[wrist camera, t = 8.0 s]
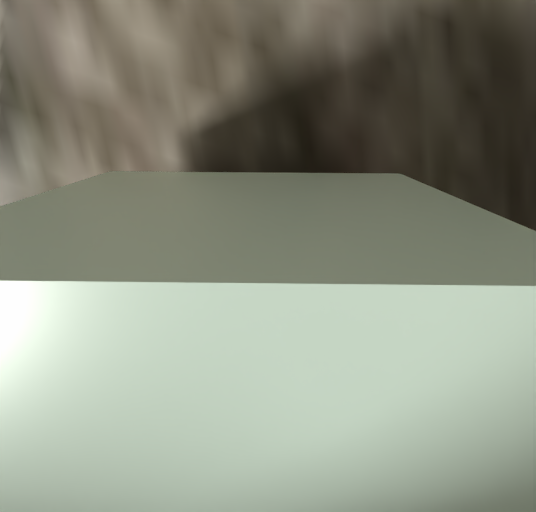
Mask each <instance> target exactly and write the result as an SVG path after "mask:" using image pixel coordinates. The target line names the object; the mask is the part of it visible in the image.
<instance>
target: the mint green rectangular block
mask: <svg viewBox="0 0 536 512" xmlns="http://www.w3.org/2000/svg"><path fill="white" fill-rule="evenodd" d="M0 512H536V231H534V230H532V229H529V228H527V227H525V226H522V225H520V224H518V223H515V222H513V221H511V220H508V219H506V218H504V217H501V216H499V215H497V214H494V213H492V212H489V211H487V210H485V209H482V208H480V207H478V206H475V205H473V204H471V203H468V202H466V201H464V200H461V199H459V198H457V197H454V196H452V195H450V194H447V193H445V192H442V191H440V190H438V189H435V188H433V187H431V186H428V185H426V184H424V183H421V182H419V181H417V180H414V179H412V178H410V177H407V176H405V175H402V174H393V173H265V172H136V171H109V172H106V173H103V174H100V175H97V176H94V177H91V178H88V179H84V180H81V181H78V182H75V183H72V184H69V185H66V186H63V187H59V188H56V189H53V190H50V191H47V192H44V193H41V194H38V195H34V196H31V197H28V198H25V199H22V200H19V201H16V202H13V203H9V204H6V205H3V206H0Z"/></svg>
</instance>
